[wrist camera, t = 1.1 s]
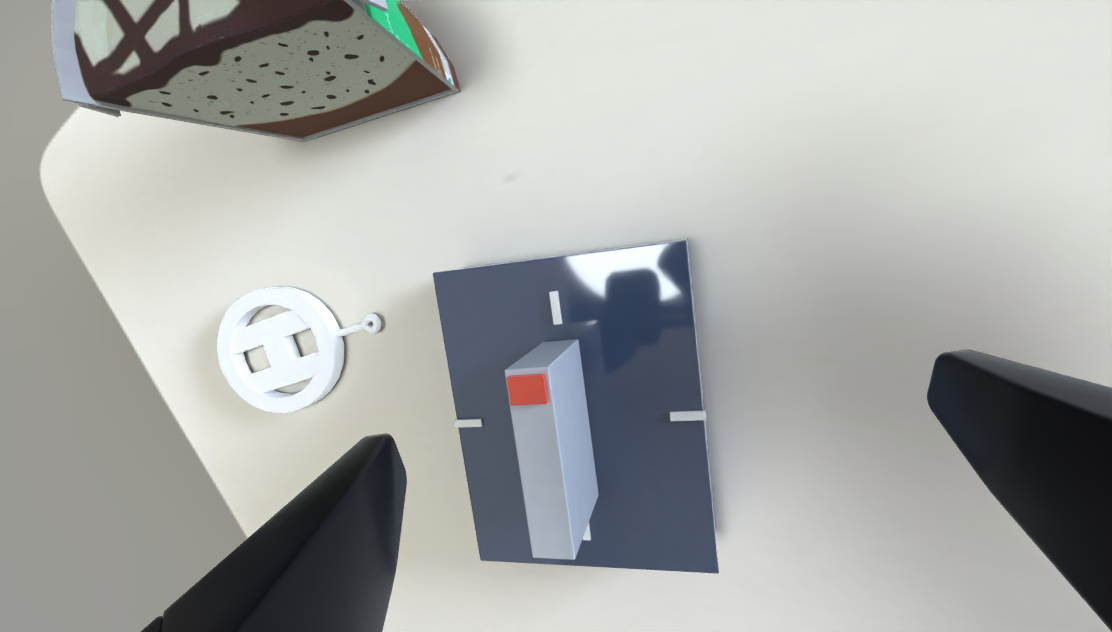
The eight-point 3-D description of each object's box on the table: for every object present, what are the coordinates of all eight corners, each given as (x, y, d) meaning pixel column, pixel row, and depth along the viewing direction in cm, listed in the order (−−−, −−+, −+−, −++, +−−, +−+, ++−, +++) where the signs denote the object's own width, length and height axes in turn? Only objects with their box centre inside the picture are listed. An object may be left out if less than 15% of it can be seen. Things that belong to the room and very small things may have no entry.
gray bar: (598, 495, 22) (573, 564, 17) (563, 495, 22) (530, 562, 18) (578, 338, 21) (546, 368, 16) (542, 341, 21) (501, 371, 17)
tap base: (718, 532, 24) (721, 576, 21) (501, 525, 27) (476, 562, 24) (689, 238, 22) (689, 239, 19) (460, 268, 25) (428, 273, 22)
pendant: (212, 310, 30) (199, 312, 29) (357, 252, 26) (347, 252, 25) (254, 421, 30) (243, 426, 29) (402, 378, 27) (394, 382, 26)
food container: (460, -59, 22) (286, -273, 13) (489, 82, 23) (344, -22, 14) (251, 30, 26) (-6, -87, 16) (281, 149, 27) (51, 103, 17)
